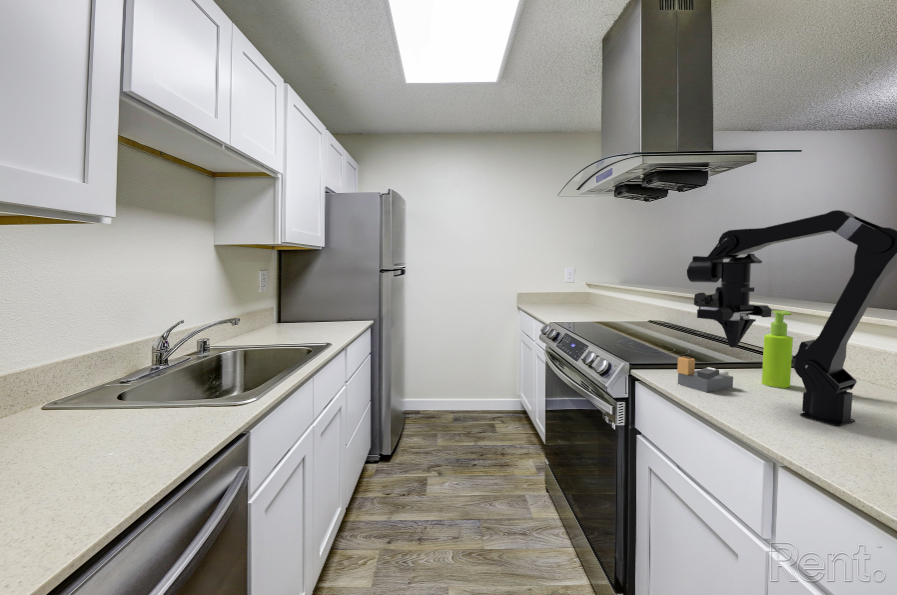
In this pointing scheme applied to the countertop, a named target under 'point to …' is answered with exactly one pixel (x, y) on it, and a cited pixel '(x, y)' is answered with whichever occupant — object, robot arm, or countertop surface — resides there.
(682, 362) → the orange slider
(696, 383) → the panel
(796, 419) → the countertop surface
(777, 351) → the soap dispenser
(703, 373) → the block
